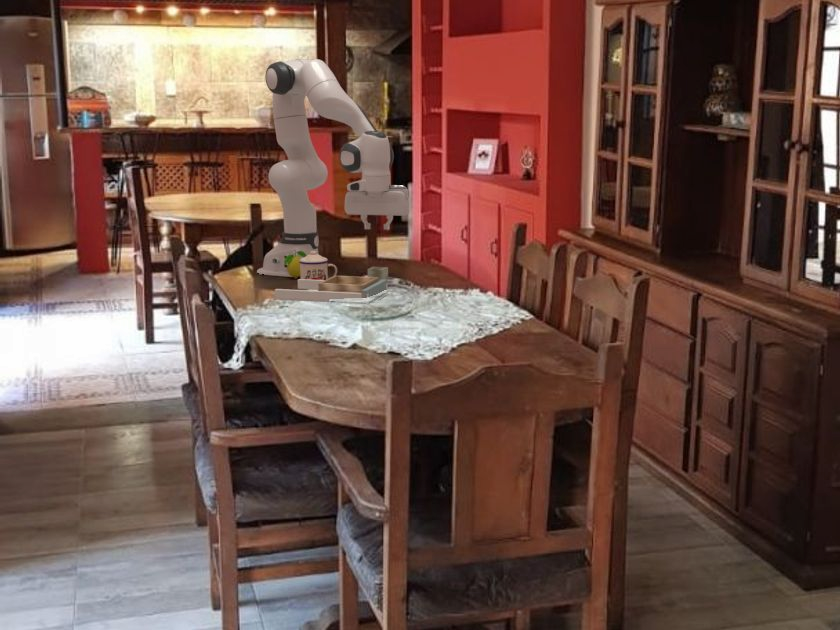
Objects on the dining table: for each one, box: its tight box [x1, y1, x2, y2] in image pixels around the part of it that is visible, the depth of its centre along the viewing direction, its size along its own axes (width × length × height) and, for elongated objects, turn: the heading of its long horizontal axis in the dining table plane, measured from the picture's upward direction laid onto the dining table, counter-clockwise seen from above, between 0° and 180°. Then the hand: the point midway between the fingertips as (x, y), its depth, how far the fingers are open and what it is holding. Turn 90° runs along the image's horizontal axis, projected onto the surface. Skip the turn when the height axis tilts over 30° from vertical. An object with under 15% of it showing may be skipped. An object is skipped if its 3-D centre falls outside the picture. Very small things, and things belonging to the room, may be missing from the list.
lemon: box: [284, 251, 307, 280], centre depth 359 cm, size 7×6×10 cm
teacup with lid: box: [299, 251, 338, 280], centre depth 343 cm, size 12×9×12 cm
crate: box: [317, 275, 379, 293], centre depth 322 cm, size 14×14×5 cm
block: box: [367, 266, 389, 284], centre depth 338 cm, size 5×5×7 cm
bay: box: [274, 278, 389, 303], centre depth 324 cm, size 29×19×5 cm, turn 73°
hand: (377, 229), depth 335 cm, fingers open, 5 cm apart
